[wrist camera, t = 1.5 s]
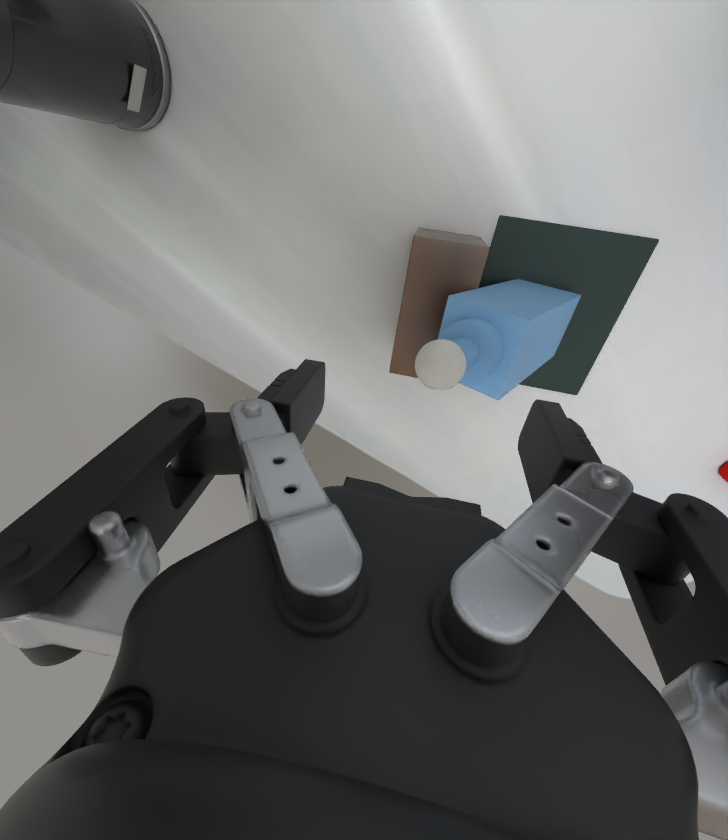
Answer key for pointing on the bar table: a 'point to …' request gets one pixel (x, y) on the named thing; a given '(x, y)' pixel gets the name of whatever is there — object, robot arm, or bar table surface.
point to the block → (433, 289)
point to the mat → (570, 285)
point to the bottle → (496, 336)
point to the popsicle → (724, 472)
